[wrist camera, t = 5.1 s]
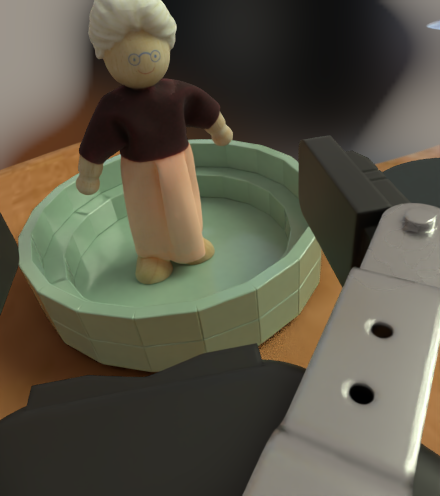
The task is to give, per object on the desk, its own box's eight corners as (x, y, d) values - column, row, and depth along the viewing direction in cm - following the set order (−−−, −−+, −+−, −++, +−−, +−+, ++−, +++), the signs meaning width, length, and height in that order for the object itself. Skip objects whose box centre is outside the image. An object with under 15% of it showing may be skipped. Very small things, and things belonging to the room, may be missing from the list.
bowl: (5, 394, 17) (-37, 339, 15) (78, 203, 29) (60, 156, 27) (360, 352, 17) (370, 290, 15) (291, 176, 29) (290, 126, 26)
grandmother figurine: (140, 310, 20) (38, 10, 12) (103, 272, 22) (0, 3, 15) (258, 237, 23) (239, -35, 15) (215, 211, 26) (180, -34, 18)
